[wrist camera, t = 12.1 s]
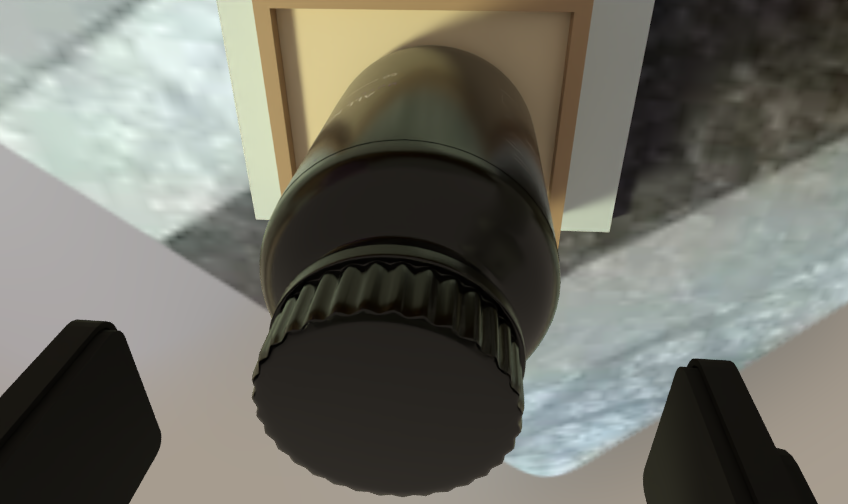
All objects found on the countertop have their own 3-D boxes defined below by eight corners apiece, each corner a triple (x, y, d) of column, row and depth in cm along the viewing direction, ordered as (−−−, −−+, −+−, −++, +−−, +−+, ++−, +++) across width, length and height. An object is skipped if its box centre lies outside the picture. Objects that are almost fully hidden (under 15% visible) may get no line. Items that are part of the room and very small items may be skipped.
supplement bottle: (339, 23, 18) (171, 210, 8) (556, 59, 18) (656, 286, 8) (328, 214, 22) (204, 504, 12) (508, 242, 22) (537, 553, 12)
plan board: (656, -48, 21) (708, -25, 16) (604, 220, 27) (632, 294, 22) (218, -51, 22) (147, -30, 17) (262, 208, 28) (219, 276, 23)
